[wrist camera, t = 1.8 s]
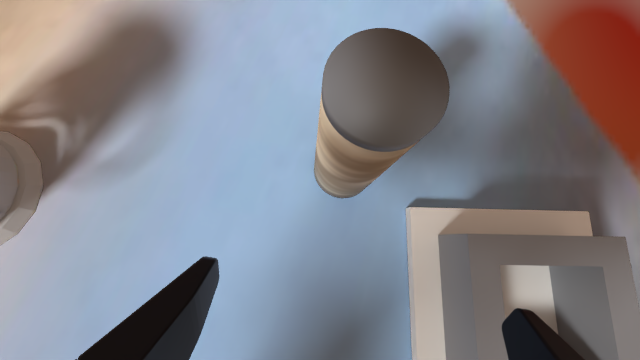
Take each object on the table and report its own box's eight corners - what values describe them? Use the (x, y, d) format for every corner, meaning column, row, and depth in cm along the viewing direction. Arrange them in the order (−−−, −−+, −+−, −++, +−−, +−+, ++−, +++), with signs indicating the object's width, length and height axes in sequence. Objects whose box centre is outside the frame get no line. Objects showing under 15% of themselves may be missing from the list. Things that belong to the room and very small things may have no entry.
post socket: (414, 411, 20) (449, 468, 15) (405, 208, 23) (433, 200, 18) (609, 410, 20) (704, 465, 15) (576, 212, 23) (649, 205, 18)
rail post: (313, 197, 22) (321, 142, 10) (314, 141, 23) (323, 25, 11) (371, 198, 23) (454, 147, 10) (370, 143, 24) (444, 31, 11)
